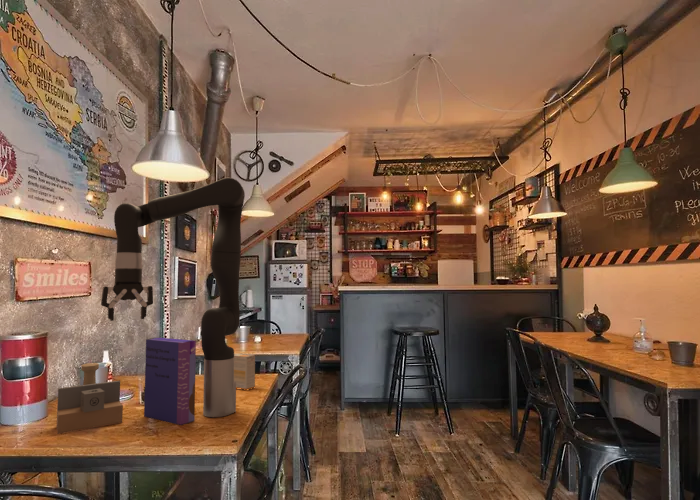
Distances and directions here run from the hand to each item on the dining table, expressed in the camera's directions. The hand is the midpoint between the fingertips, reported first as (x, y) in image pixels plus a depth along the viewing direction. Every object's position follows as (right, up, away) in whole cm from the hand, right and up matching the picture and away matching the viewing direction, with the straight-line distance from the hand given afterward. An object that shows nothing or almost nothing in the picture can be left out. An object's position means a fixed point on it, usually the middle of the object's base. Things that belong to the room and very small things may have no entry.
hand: (127, 319), depth 134 cm
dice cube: (-6, -25, -9) cm, 27 cm away
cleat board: (-7, -30, -7) cm, 31 cm away
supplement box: (+27, -33, +35) cm, 55 cm away
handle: (-16, -31, +6) cm, 35 cm away
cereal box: (+14, -30, -2) cm, 33 cm away
